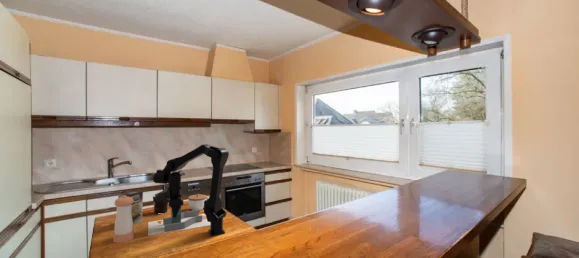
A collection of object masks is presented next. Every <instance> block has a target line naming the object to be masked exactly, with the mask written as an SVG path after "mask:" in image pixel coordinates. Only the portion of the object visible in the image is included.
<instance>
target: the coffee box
mask: <svg viewBox="0 0 579 258" xmlns="http://www.w3.org/2000/svg"><path fill="white" fill-rule="evenodd" d="M117 195H118V198H120V197H122V196H124V195H126V196H127V197H132V198H133V200H134V202H133V204H131V205H132V210H131V214H132V221H133V226H134V225H137V224H140V223H142V222H143V207H144V205H143V203H144V202H143V201H144V199H143V198H144V191H141V190H131V191H127V192H123V193H118V194H117ZM118 198H117V199H118Z"/></svg>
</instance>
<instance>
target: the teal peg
mask: <svg viewBox="0 0 579 258" xmlns="http://www.w3.org/2000/svg"><path fill="white" fill-rule="evenodd" d="M181 213H182V206H181V207H180V209H179V211H178V214H177V216H176V217H175V218H174V217H173V213H172V208H171V207H170V215H171V216H170V217H171V224H173V223H180V222H181Z"/></svg>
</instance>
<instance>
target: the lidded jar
mask: <svg viewBox="0 0 579 258" xmlns="http://www.w3.org/2000/svg"><path fill="white" fill-rule="evenodd" d="M187 198H188V203H187V204H188V206H189V208H190V209H191V211H194V210H199V212H200V211H202V210H203V208H204V201H205V200H207V199H208V195H206V194H199V193H197V194H192V195H189V196H188V197H187Z"/></svg>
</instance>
